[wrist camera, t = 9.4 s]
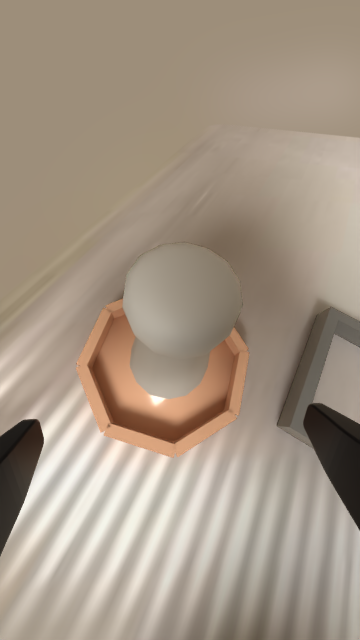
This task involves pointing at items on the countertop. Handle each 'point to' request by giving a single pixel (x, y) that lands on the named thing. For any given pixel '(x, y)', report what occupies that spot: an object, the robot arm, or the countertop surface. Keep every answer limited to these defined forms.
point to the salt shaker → (178, 315)
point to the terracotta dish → (151, 411)
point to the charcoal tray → (314, 368)
